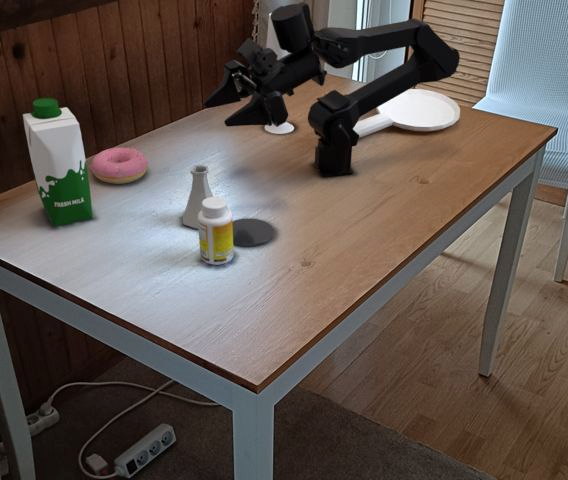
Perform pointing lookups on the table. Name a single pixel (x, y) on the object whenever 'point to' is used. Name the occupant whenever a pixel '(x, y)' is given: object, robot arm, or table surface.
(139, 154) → the doughnut
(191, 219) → the flask
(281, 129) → the champagne flute
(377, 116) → the frying pan
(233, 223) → the slate coaster
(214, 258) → the supplement bottle
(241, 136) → the table surface
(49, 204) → the milk carton
